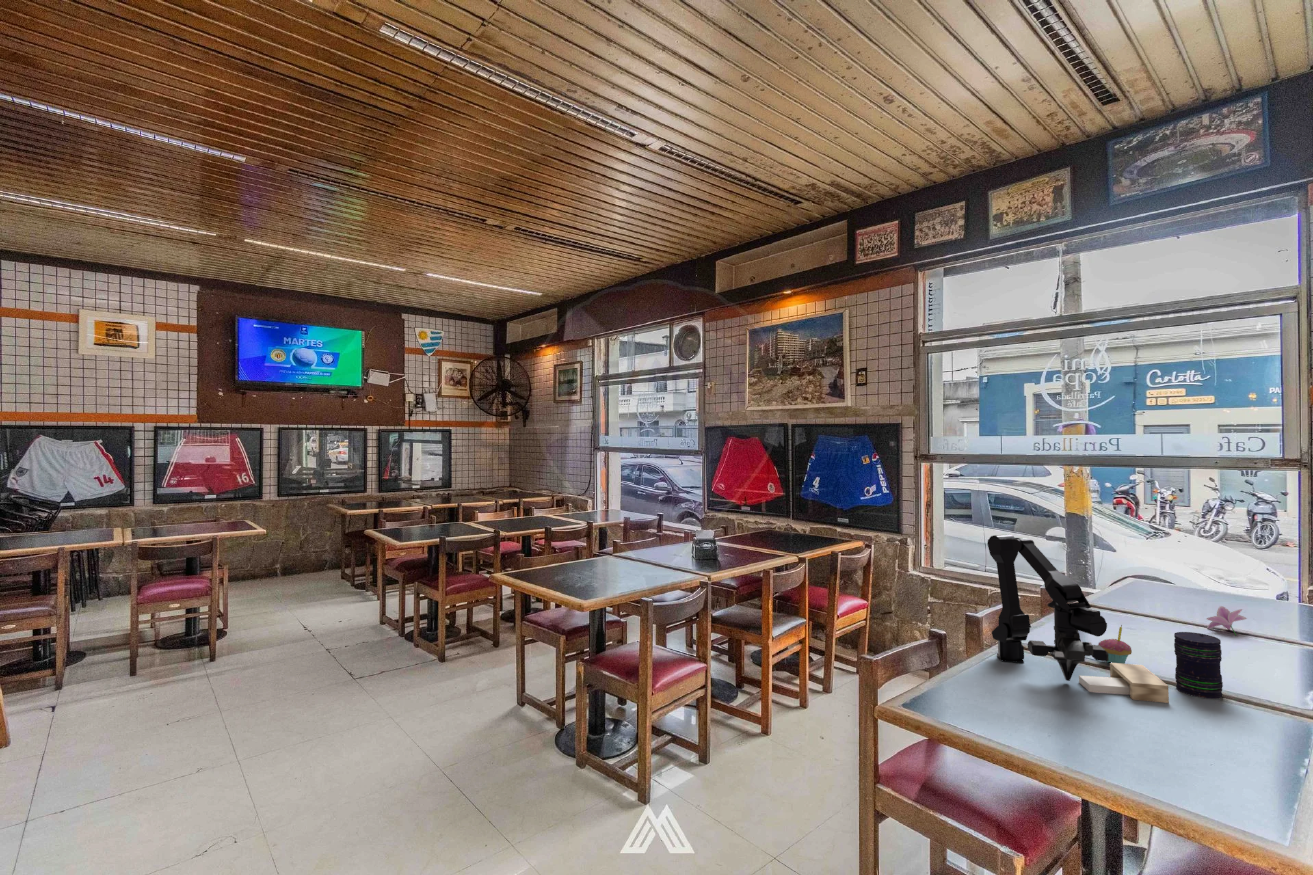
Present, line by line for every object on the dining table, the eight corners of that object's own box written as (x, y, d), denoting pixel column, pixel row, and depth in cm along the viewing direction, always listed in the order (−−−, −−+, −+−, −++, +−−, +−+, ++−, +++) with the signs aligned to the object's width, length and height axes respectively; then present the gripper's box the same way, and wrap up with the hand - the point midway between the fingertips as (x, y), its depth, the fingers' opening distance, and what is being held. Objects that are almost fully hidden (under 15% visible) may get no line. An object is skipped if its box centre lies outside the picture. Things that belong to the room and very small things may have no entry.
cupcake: (1126, 659, 195) (1124, 621, 195) (1137, 668, 187) (1135, 629, 187) (1094, 656, 198) (1093, 619, 198) (1103, 665, 190) (1102, 626, 190)
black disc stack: (1212, 701, 163) (1210, 645, 163) (1168, 689, 171) (1166, 635, 172) (1230, 694, 167) (1228, 638, 167) (1185, 682, 176) (1184, 629, 176)
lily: (1255, 636, 218) (1241, 609, 223) (1257, 630, 210) (1242, 602, 215) (1212, 641, 224) (1199, 615, 229) (1213, 636, 216) (1200, 609, 221)
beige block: (1132, 699, 165) (1132, 682, 165) (1110, 677, 180) (1109, 662, 180) (1168, 702, 162) (1168, 685, 163) (1143, 680, 178) (1142, 665, 178)
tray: (1089, 693, 171) (1089, 684, 171) (1079, 684, 177) (1078, 675, 177) (1157, 698, 167) (1156, 688, 167) (1143, 688, 174) (1143, 679, 174)
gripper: (1036, 631, 172) (1038, 687, 172) (1115, 637, 167) (1117, 694, 166) (1026, 620, 183) (1027, 673, 183) (1100, 625, 177) (1101, 679, 177)
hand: (1067, 680), depth 177 cm, fingers closed
